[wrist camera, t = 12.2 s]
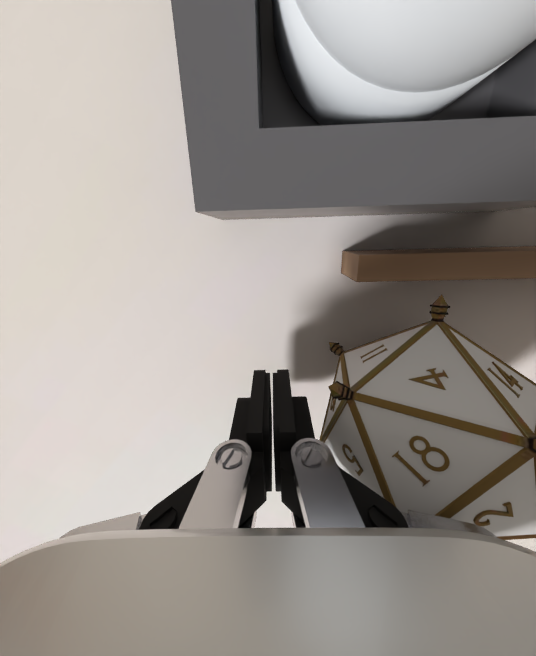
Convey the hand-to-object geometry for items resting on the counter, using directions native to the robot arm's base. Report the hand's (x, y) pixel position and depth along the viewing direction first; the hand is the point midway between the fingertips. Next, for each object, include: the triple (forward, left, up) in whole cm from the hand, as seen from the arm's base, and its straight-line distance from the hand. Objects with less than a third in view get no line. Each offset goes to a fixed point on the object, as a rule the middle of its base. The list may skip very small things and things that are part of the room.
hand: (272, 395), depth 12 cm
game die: (0, -5, -2) cm, 6 cm away
